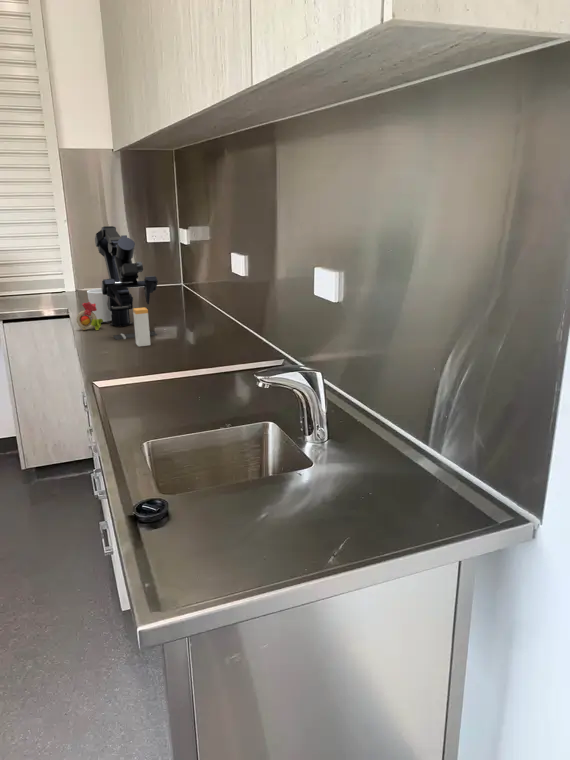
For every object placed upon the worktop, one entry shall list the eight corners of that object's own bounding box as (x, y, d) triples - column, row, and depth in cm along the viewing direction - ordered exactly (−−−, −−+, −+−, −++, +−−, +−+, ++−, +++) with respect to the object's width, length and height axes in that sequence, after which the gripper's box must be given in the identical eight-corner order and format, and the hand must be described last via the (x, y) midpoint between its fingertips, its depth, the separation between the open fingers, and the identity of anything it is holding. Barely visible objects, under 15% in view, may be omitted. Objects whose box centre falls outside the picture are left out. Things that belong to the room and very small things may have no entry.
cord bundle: (116, 341, 206) (115, 337, 206) (113, 338, 211) (113, 334, 210) (157, 337, 213) (157, 333, 212) (154, 334, 217) (153, 330, 217)
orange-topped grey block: (136, 343, 201) (132, 308, 197) (147, 342, 203) (144, 307, 199) (138, 346, 198) (135, 310, 194) (150, 345, 199) (147, 309, 196)
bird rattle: (84, 338, 220) (107, 326, 221) (69, 311, 216) (91, 300, 217) (85, 334, 226) (106, 323, 227) (69, 308, 222) (91, 297, 223)
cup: (119, 319, 240) (116, 288, 236) (110, 325, 231) (107, 292, 227) (96, 319, 241) (92, 288, 237) (86, 324, 232) (82, 292, 228)
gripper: (99, 255, 199) (108, 293, 193) (154, 252, 207) (165, 288, 201) (97, 275, 208) (106, 312, 202) (150, 272, 216) (160, 307, 210)
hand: (135, 304), depth 203 cm, fingers open, 9 cm apart
